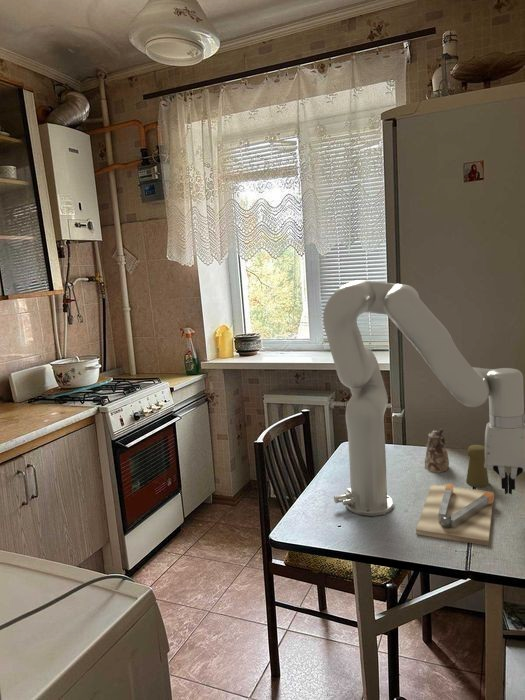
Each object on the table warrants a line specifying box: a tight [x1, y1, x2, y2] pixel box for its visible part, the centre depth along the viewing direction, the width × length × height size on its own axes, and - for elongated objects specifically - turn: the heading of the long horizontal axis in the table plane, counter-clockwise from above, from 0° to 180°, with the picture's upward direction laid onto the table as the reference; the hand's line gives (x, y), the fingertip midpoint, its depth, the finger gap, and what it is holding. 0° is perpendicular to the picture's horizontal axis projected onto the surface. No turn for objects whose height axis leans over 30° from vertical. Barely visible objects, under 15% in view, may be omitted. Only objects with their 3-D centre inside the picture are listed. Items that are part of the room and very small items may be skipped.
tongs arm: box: [441, 492, 495, 528], centre depth 131 cm, size 20×3×2 cm, turn 129°
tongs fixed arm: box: [438, 483, 454, 522], centre depth 135 cm, size 18×2×2 cm, turn 154°
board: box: [415, 483, 494, 547], centre depth 134 cm, size 26×16×1 cm, turn 154°
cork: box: [465, 444, 489, 488], centre depth 149 cm, size 6×6×11 cm
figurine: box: [424, 428, 450, 473], centre depth 162 cm, size 7×7×12 cm
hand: (508, 491), depth 129 cm, fingers closed
